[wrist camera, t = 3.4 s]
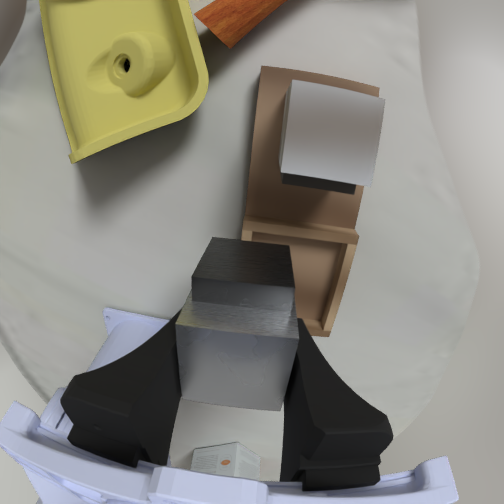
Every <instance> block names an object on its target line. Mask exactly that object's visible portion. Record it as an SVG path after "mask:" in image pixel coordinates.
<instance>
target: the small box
mask: <svg viewBox="0 0 504 504" xmlns="http://www.w3.org/2000/svg"><path fill="white" fill-rule="evenodd" d="M190 470H193V471H199V472H205V473H211V474H218V475H226V476H234V477H243V478H249V479H255V480H258V481H259V474H260V456H258V455H256V454H255V453H253V452H252V451H250V450H249V449H247V448H246V447H244V446H243V445H241V444H240V443H238V442H235V443H230V444H225V445H219V446H213V447H207V448H200V449H194V454H193V458H192V463H191V468H190Z"/></svg>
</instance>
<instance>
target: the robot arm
mask: <svg viewBox="0 0 504 504" xmlns="http://www.w3.org/2000/svg"><path fill="white" fill-rule="evenodd" d="M181 311H182V309H181V310H180V311H179V312H178V313H177V314H176V315H175V316H174V317H173V318H172V319H171V320H166V319H161V318H156V317H150V316H145V315H140V314H135V313H130V312H126V311H121V310H116V309H112V308H104V310H103V316H104V320H105V325H106V329H107V333H108V338H107V339H106V341H105V343H104V344H103V346H102V347H101V349H100V350H99V352H98V354H97V355H96V357H95V359H94V360H93V362H92V364H91V365H90V367H89V368H88V370H87V372H85V373H82V374H79V375H75V376H74V378H73V379H72V380H71V382H70V383H69V385H68V386H66V387H65V388H64V387H61V388H58V389H57V391H56V392H55V394H54V395H53V397H52V398H51V400H50V401H49V403H48V405H47V406H46V408H45V410H44V412H43V413H42V415H41V416H40V418H39V417H38V415H37V414H36V413H35V412H34V411H33V410H31V409H29V408H28V407H26V406H24V405H22V404H20V403H19V402H17V401H14V402H13V403H12V405H11V406H10V408H9V409H8V411H7V413H6V414H5V416H4V417H3V419H2V421H1V422H0V447H1V448H2V449H3V450H5V452H6V453H7V454H9V455H10V456H11V457H12V458H13V459H14V460H15V461H16V462H17V463H19V464H20V465H22V466H23V469H24V470H25V473H26V474H27V476H28V478H29V480H30V482H31V483H32V485H33V487H34V488H35V490H36V492H37V494H38V495H39V499H38V501H37V503H36V504H452V503H454V502H456V501H458V499H459V497H458V493H457V489H456V486H455V482H454V478H453V475H452V471H451V467H450V464H449V461H448V458H447V456H441V457H438V458H434V459H430V460H426V461H424V462H422V463H420V464H419V465H418V466H417V467H416V468H415V469H414V470H409V471H404V472H399V473H394V474H388V475H382V476H380V474H379V468H378V465H379V464H380V463H381V460H380V454H381V453H382V452H383V451H384V450H385V449H386V448H387V446H388V445H389V444H390V443H391V441H392V440H393V433H392V429H391V425H390V423H389V420H388V418H387V415H385V414H384V413H382V412H381V411H379V410H378V409H376V408H375V407H373V406H371V405H370V404H369V403H367V402H366V401H365V400H364V399H362V398H361V397H360V396H359V395H357V394H356V393H355V392H354V391H353V390H352V389H351V388H350V387H349V386H348V385H347V384H345V382H344V381H343V380H342V379H341V378H340V377H339V376H338V375H337V374H336V372H335V371H334V370H333V369H332V367H331V366H330V365H329V363H328V362H327V361H326V359H325V358H324V356H323V355H322V353H321V352H320V350H319V349H318V347H317V345H316V344H315V342H314V340H313V339H312V337H311V335H310V333H309V331H308V329H307V327H306V325H305V323H304V321H303V319H302V318H297V322H298V332H299V342H298V346H297V350H296V354H295V358H294V362H293V366H292V370H291V374H290V378H289V382H288V385H287V389H286V393H285V396H284V400H283V401H284V433H283V449H282V462H281V473H280V482H273V481H258V480H255V479H249V478H243V477H234V476H226V475H218V474H211V473H205V472H199V471H193V470H188V469H183V468H178V467H171V461H170V455H169V449H170V443H171V438H172V432H173V428H174V423H175V418H176V414H177V410H178V405H179V401H180V398H181V395H182V392H181V383H180V374H179V364H178V353H177V341H176V328H175V323H176V321H177V319H178V317H179V315H180V313H181ZM108 316H109V317H110V318H109V317H108Z"/></svg>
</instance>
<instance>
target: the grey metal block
mask: <svg viewBox="0 0 504 504" xmlns="http://www.w3.org/2000/svg"><path fill="white" fill-rule="evenodd" d="M294 293H295V281H294V274H293V267H292V260H291V253H290V246H289V245H282V244H273V243H264V242H254V241H245V240H236V239H226V238H216V237H212V239H211V241H210V243H209V245H208V247H207V248H206V250H205V252H204V254H203V256H202V258H201V260H200V262H199V263H198V265H197V267H196V269H195V271H194V273H193V275H192V290H191V292H190V294H189V296H188V298H187V300H186V302H185V304H184V306H183V308H182V311H181V313H180V315H179V317H178V319H177V321H176V323H175V328H176V341H177V353H178V364H179V374H180V383H181V392H182V399H184V400H190V401H196V402H202V403H208V404H215V405H222V406H229V407H238V408H247V409H257V410H269V411H281V407H282V404H283V400H284V396H285V393H286V389H287V385H288V382H289V378H290V374H291V370H292V366H293V362H294V358H295V354H296V350H297V346H298V342H299V332H298V322H297V313H296V305H295V296H294Z"/></svg>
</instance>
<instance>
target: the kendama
mask: <svg viewBox="0 0 504 504" xmlns="http://www.w3.org/2000/svg"><path fill="white" fill-rule="evenodd" d="M286 1H287V0H215V1H214V2H212V3H210V4H209V5H207V6H206V7H204V8H202V9H201V10H199V11H198V12H196V13H195V14H194V15H195V16H196V17H197V18H198V19H199V20H200V21H201V22H202V23H203V24H204V25H206V26H207V27H208V28H209V29H210V30H211V31H212V32H213V33H214V34H215V35H216V36H217V37H218V38H219V39H220V40H221V41H222V42H223V43H224V44H225V45H226V46H227V47H229V48H230V49H231V48H232V47H233V46H234V45H235V44H236V43H237V42H238V41H240V40H241V39H242V38H243V37H244V36H245V35H246V34H247V33H248V32H250V31H251V30H252V29H253V28H254V27H255V26H256V25H257V24H259V23H260V22H261V21H262V20H263V19H265V18H266V17H267V16H268V15H269V14H271V13H272V12H273V11H274V10H276V9H277V8H278V7H279V6H281V5H282V4H283V3H284V2H286Z"/></svg>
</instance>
